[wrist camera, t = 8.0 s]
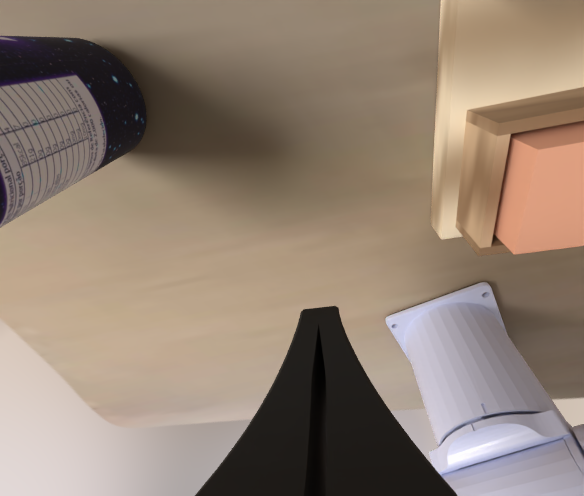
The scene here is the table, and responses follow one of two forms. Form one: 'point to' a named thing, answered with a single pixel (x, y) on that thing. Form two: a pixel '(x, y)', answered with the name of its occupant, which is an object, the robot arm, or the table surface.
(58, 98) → the beverage can
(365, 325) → the table surface
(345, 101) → the table surface
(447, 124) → the wooden socket board
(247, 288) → the table surface
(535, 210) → the terracotta key
